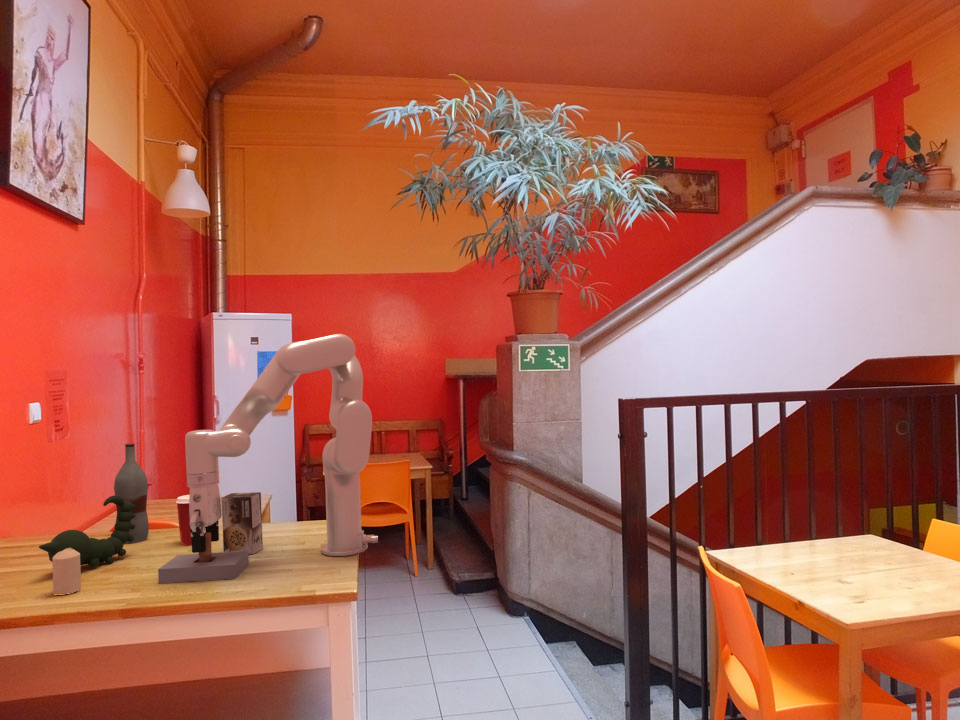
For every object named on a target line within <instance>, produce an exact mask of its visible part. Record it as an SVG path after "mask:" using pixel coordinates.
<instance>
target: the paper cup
mask: <svg viewBox="0 0 960 720" xmlns="http://www.w3.org/2000/svg"><path fill="white" fill-rule="evenodd" d="M189 495H190V494H186V495H181V496H178V497H177V498H176V501H175V503H176V506H177V519H178V527H179V538H180V545H181V546H187V547H188V546H192V540H191V531H190V529H191V527H190V517H189ZM200 530H201V527H200Z"/></svg>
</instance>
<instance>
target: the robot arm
mask: <svg viewBox="0 0 960 720" xmlns="http://www.w3.org/2000/svg"><path fill="white" fill-rule="evenodd" d="M355 354H356V345H355V343H354V340H353V339H352V338H351V337H350V336H348V335H346V334H344V333H335V334H330V335H326V336H321V337H318V338H317V337H316V338H313V339H308V340H301V341H300V340H299V341H294V342H289V343H287V344H283V345H282V346H281V347H279V349H278V350H277V351H276V352H275V354H274V355H273V357H272V358H271V359H270V361H268V364H266V366H265V367H264V369H263V371H262V372H261V373H260V375H259V376H258V377H257V379H256V380H255V382H254V383H253V384H252V385H251V387H250V388H249V389H248V391H247V392H246V393H245V395H244V397H243V398H242V399H241V401H240V402H239V403H238V404H237V406H235V408H234V409H233V410H232V412H231V414H230V415H229V416H228V418H227V419H226V420H225V422H224V423H223V424H222V426H221V428H220V429H218V430H213V429H196V430H192V431H188V432H187V433H186V434H185V437H184V439H185V440H184V444H185V445H184V448H185V465H186V467H185V468H186V469H185V470H186V471H185V473H186V487H187V488H189V494H188V495H189V517H190V527H191V529H190V531H191V540H192V545H191V552H192V554H199V552H205V551H206V535H204V533H205V532H210V533H211V543H212V542H218V541H220V530H219V529H220V527H219V524H220V523H219V520H220V519H222V503H221V495H220V494H221V493H220V487H219V484H220V469H219V457H220V458H221V457H222V458H236V457H240V456H242V455H245V454H246V453H247V452H248V451H249V449H250V447H251V443H252V442H251V435H252V433H253V432H254V431H255V429H256V427H258V426H259V424H260V423H261V421H262V420H263V419H264V418H266V416H267V415H269V414H270V413H271V412H273V411H274V410H275V409H277V408H278V407H279V405H280V404H282V401H283V400H284V399H285V397H286V396H287V394H288V393H289V391H290V390H291V388H292V387H293V386H294V384H295V383H296V381H297V380H298V379H299V377H300V375H302V374H308V373H314V372H317V371H318V372H319V371H322V370H327V369H328V370H329V371H330V374H331V380H332V381H331V398H330V405H329V406H330V408H329V414H328V417H329V423H330V424H331V426H332V427H333V428H334V429H335V430H336V431H335V432H336V433H335V437H333V438H331V439H329V440H328V441H327V443H326V444H325V445H324V448H323V450H322V467H323V472H324V483H325V484H324V485H325V514H326V515H325V517H326V544H324V545H323V546H322V547H321V554H323V555H325V556H328V557H329V556H330V557H345V556H347V557H348V556H353V555H357V553H358V554H361V553H364V552H365V551H366V550H367V549H369V546H368V544H369V543H371V544H376V543H379V536H378V535H375V534H366V533H365V530H364V529H362V505H361V503H362V501H361V479H360V478H361V477H360V472H362V471H363V470H364V469H365V467H366V466H367V463H368V462H369V459H370V451H371V450H370V449H371V442H372V441H371V440H372V427H373V415H372V411H371V409H370V407H369V405H368V404H367V403H366V402H365V401H363V395H364V394H363V392H364V391H363V389H364V374H363V373H364V372H363V369H362V366H361V363H360V361H359V359H358V358H357V356H356V355H355ZM200 527H201V530H200Z"/></svg>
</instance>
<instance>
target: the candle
mask: <svg viewBox="0 0 960 720" xmlns="http://www.w3.org/2000/svg"><path fill="white" fill-rule="evenodd" d="M51 563H52V591H53V592H52V594H53V595H54V594H58V595H59V594H67V593H72V592H75V591H78V590H80V589H82V581H81V580H82V575H81V574H82V573H81V566H80V553H79V552H77V551H75V550H74V549H72V548H67V549H64V550H63V551H61V552H58V553H57V554H56V555H55V556H54V557H53V558H52V561H51ZM80 591H81V590H80ZM78 592H79V591H78Z"/></svg>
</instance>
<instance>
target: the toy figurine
mask: <svg viewBox="0 0 960 720" xmlns="http://www.w3.org/2000/svg"><path fill="white" fill-rule="evenodd" d="M109 504H114V505H115V506H116V505H118V506H119V512H118V514H117V513H116V517H117V520H118V521H117V522H116V521H115V523H114V527H113V529H114V530H112V532H111V534H110V536H109V537H107V538H101V539H98V538H96V537H89V536H88V534H86V532H83V531H81V530H79V529H68V530H64V531H61V532H60V533H58V534H57V535H55V536H54V537H53V539H51V541H50V542H48V543H43V544H41V545H40V544H39V545H38V549H40V550H43V551H44V552H46V553H47V554H48V555H47V556H48V558H49V559H48V560H49V561H50V562H52V558H53V557H54V556H55V555H56V554H57V553H58V552H61V551H63V550H64V549H67V548H72V549H74V550H75V551H77V552H79V553H80V567H82V566H85V565H87V566H88V567H90V568H93V569H94V568H97V567H98V566H99V564H100V563H105V564H107V565H110V563H111V564H112V563H114V556H115V555H117V556H118V557H124V556H126V553H127V550H126V549H125V548H124V545H125V544H124V543H126V542H127V541H128V542H132V541H133V540H134V537H133V536H130V534H129V531H130V529H134V528H135V525H134V524H131V522H130V521H131V519H133V518H135V516H136V515H135V514H134V513H132V512H131V511H132V509H134V508H135V505H133V504H132V503H131V502H128V501H125V502H124V499H123V497H121V496H118V495H115V494H114V495H111V496H108V498H106V499H105V500H104V501H103V504H102V505H103V507H106V506H107V505H109Z"/></svg>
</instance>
